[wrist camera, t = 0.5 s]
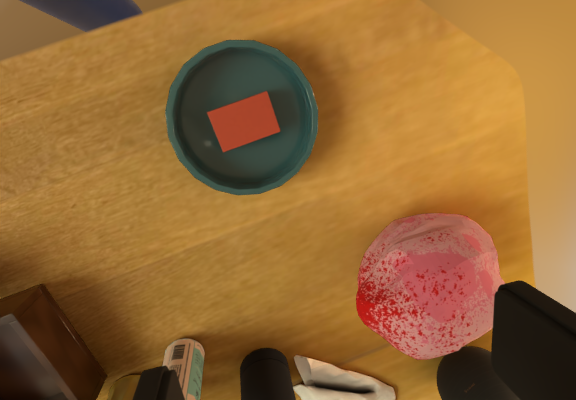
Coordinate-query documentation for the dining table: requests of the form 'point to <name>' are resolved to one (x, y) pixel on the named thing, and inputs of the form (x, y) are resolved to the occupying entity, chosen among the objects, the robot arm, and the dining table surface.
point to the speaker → (470, 377)
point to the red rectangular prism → (244, 121)
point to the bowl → (231, 88)
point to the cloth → (337, 383)
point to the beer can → (186, 365)
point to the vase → (124, 388)
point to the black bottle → (266, 376)
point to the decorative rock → (429, 284)
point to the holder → (43, 352)
